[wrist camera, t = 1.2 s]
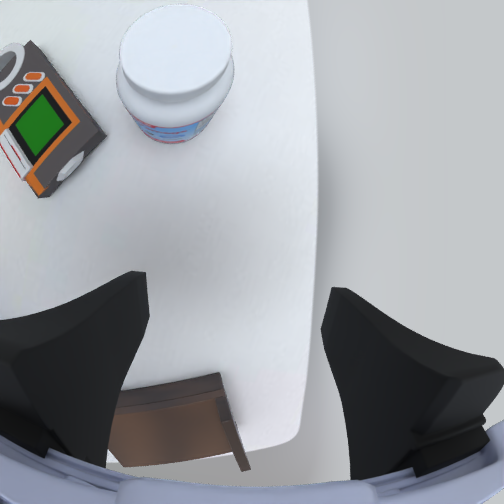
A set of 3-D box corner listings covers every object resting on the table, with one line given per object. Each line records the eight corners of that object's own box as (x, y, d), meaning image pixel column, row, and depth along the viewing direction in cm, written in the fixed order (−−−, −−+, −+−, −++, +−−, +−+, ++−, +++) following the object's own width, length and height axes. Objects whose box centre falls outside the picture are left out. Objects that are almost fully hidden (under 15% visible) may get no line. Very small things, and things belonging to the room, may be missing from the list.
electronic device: (20, 26, 11) (99, 133, 16) (33, 39, 14) (110, 140, 18) (-32, 85, 11) (35, 204, 15) (-16, 92, 14) (52, 201, 18)
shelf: (125, 445, 26) (123, 487, 20) (90, 394, 23) (78, 440, 17) (237, 426, 28) (251, 469, 22) (219, 372, 26) (232, 419, 20)
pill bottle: (120, 120, 18) (71, 71, 8) (168, 59, 18) (167, -26, 7) (183, 159, 20) (189, 141, 10) (229, 97, 20) (277, 35, 10)
